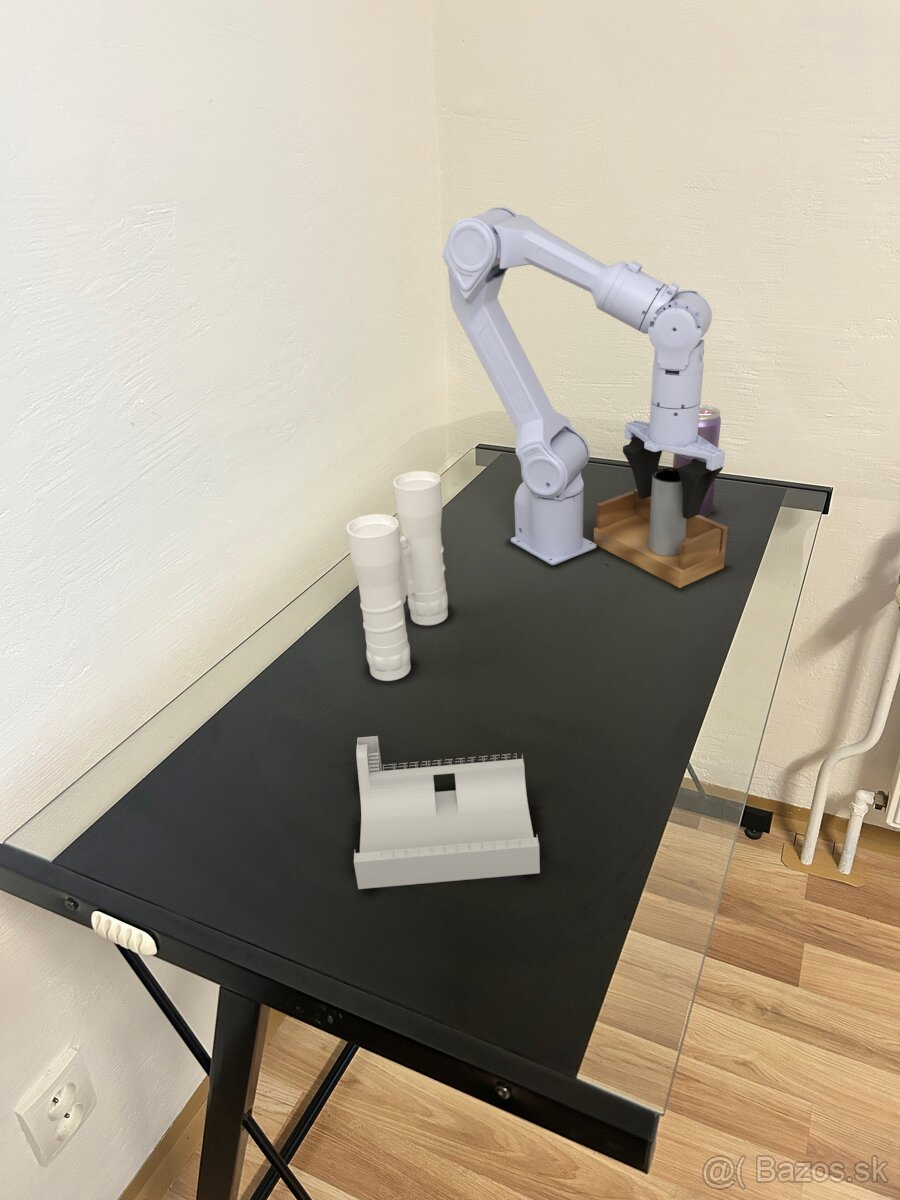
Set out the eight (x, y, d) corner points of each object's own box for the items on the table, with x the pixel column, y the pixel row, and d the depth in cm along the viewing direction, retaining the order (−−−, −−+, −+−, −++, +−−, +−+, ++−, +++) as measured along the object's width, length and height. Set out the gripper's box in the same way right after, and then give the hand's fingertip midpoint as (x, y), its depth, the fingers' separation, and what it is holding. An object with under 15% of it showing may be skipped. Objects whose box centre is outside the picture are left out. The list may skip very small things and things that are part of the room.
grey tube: (663, 560, 112) (668, 484, 106) (641, 546, 115) (644, 473, 110) (691, 550, 113) (698, 476, 108) (668, 537, 117) (673, 464, 111)
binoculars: (417, 601, 112) (404, 468, 102) (457, 606, 110) (447, 472, 100) (358, 678, 98) (336, 534, 89) (403, 686, 96) (385, 539, 87)
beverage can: (713, 520, 125) (723, 419, 118) (670, 519, 127) (677, 418, 119) (711, 502, 130) (720, 404, 123) (669, 501, 132) (676, 404, 124)
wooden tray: (593, 543, 122) (594, 504, 119) (635, 526, 125) (637, 488, 122) (679, 588, 110) (683, 546, 107) (723, 568, 114) (728, 527, 111)
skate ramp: (358, 889, 72) (350, 845, 70) (363, 779, 84) (357, 737, 81) (539, 873, 73) (538, 828, 70) (520, 765, 84) (519, 723, 81)
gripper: (608, 395, 108) (604, 496, 115) (698, 425, 97) (689, 535, 104) (649, 382, 111) (644, 482, 118) (742, 410, 100) (729, 517, 107)
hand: (668, 506), depth 111 cm, fingers open, 7 cm apart
